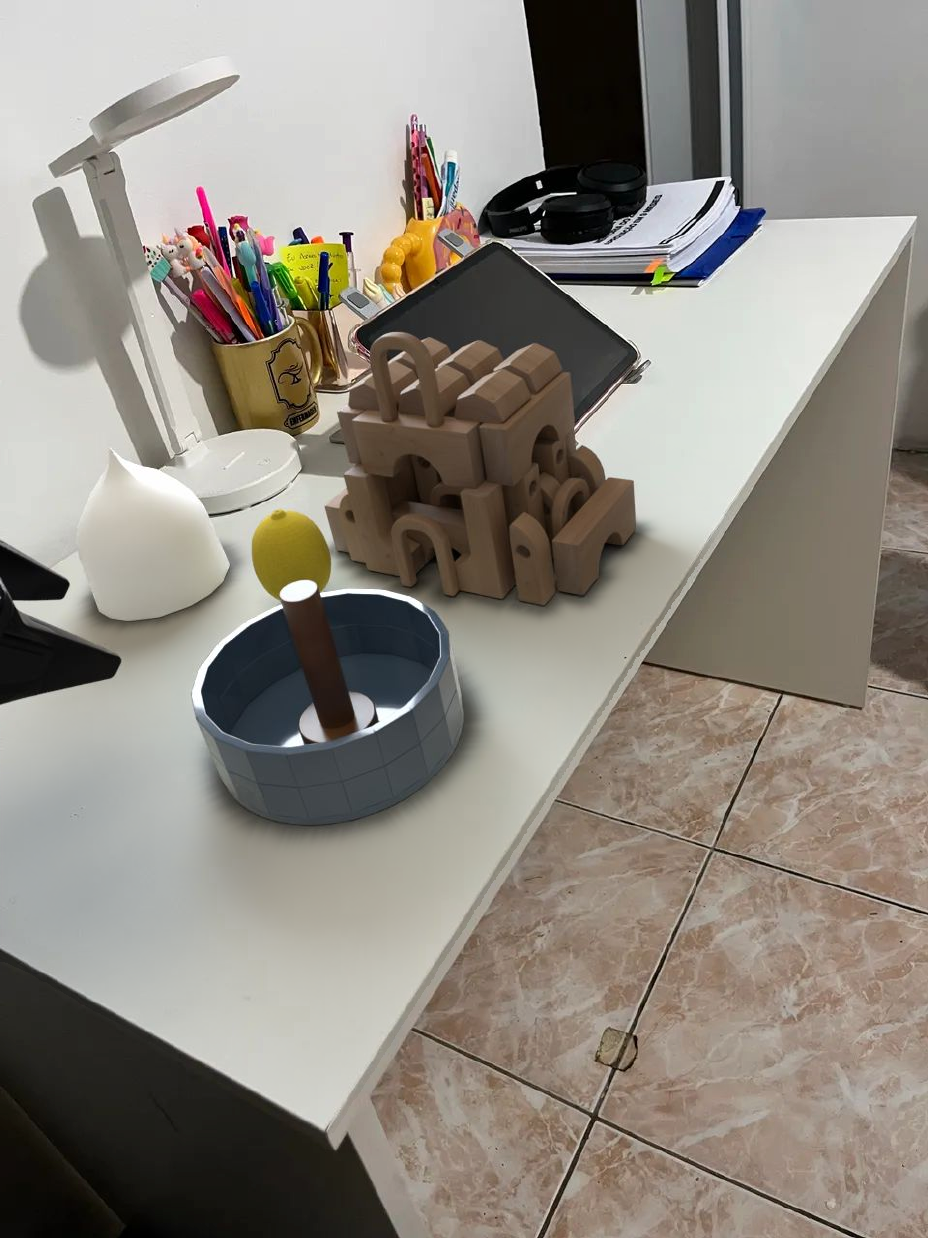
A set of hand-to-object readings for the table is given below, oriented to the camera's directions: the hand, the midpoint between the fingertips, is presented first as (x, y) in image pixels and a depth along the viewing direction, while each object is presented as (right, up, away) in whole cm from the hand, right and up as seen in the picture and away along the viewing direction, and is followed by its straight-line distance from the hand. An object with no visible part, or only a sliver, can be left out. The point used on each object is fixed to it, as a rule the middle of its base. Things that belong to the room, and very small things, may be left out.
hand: (90, 625), depth 47 cm
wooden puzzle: (+20, +6, +28) cm, 35 cm away
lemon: (+7, +1, +24) cm, 25 cm away
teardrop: (-6, +3, +30) cm, 31 cm away
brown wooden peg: (+11, -6, +11) cm, 17 cm away
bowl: (+11, -7, +11) cm, 17 cm away
